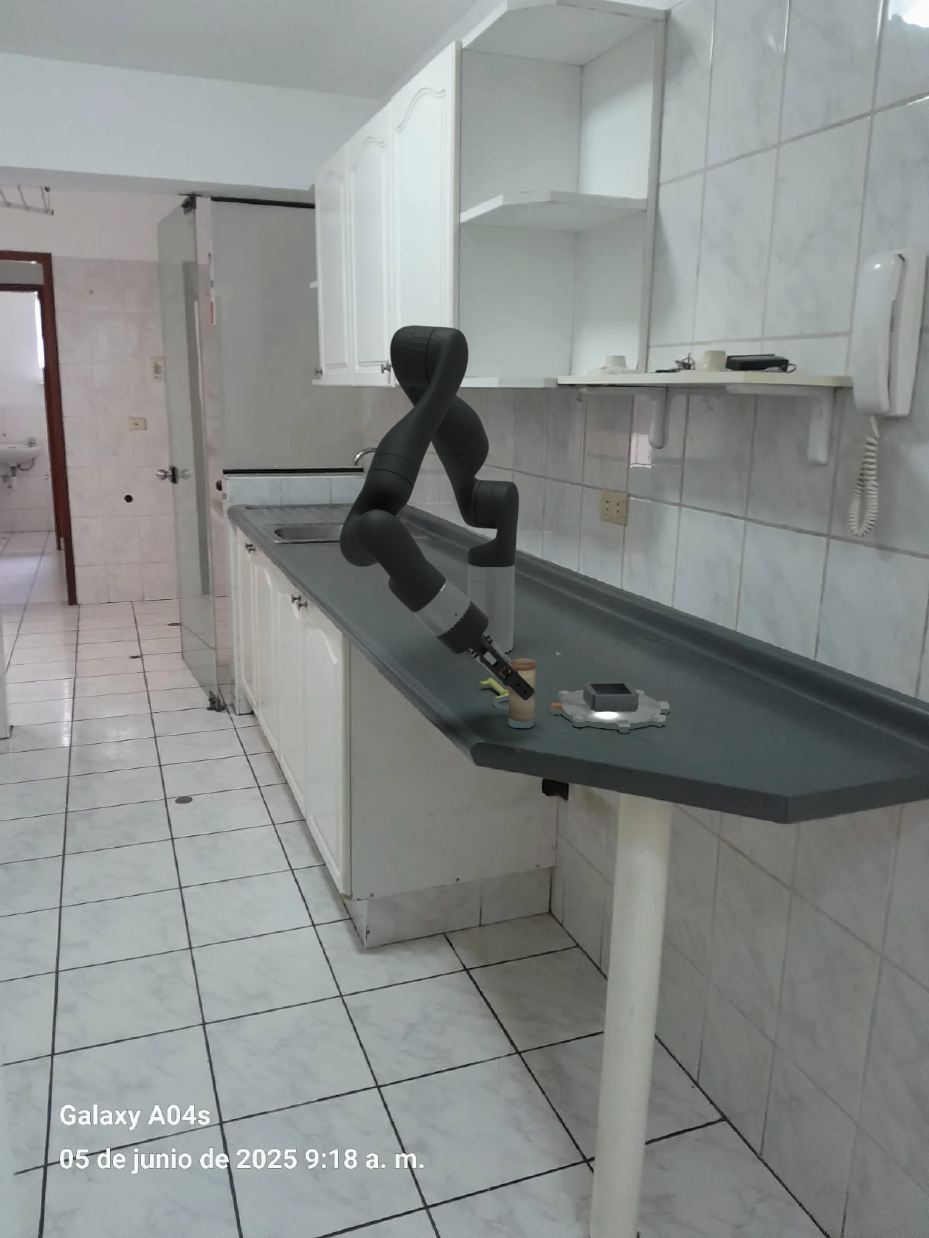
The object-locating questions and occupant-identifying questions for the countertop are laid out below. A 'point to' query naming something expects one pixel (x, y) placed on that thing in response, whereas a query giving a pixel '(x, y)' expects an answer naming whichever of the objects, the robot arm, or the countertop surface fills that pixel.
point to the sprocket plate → (610, 704)
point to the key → (496, 686)
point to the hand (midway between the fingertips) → (523, 687)
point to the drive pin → (517, 705)
